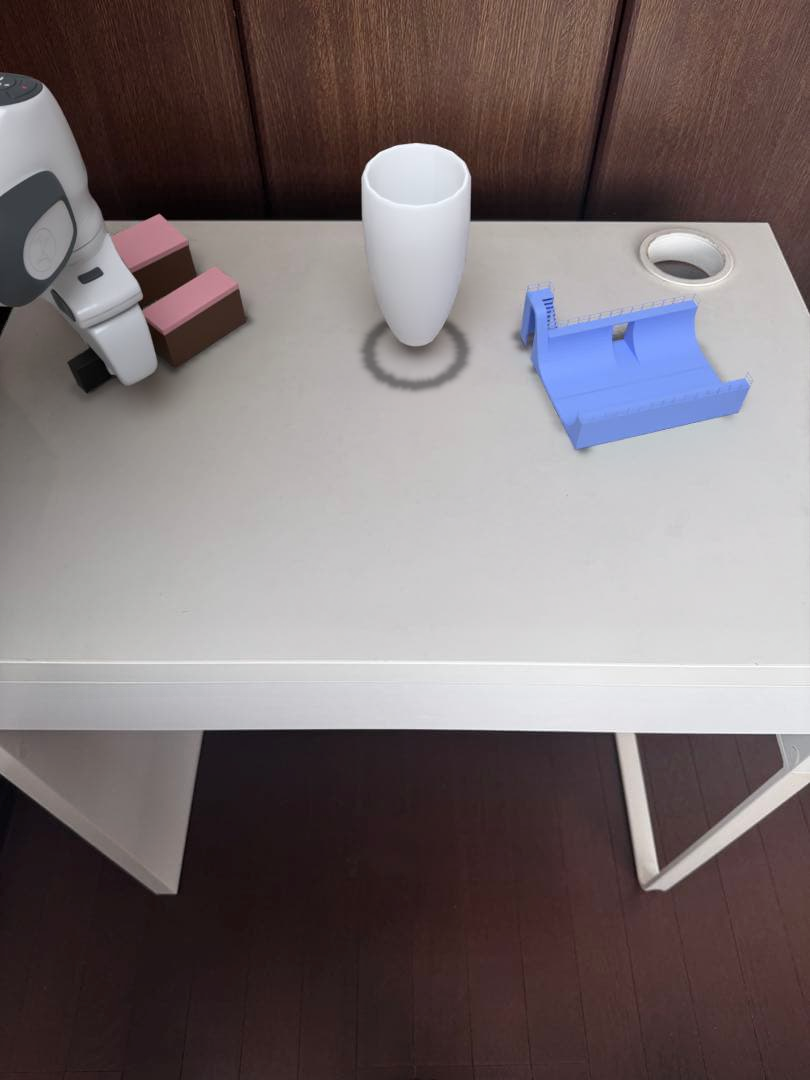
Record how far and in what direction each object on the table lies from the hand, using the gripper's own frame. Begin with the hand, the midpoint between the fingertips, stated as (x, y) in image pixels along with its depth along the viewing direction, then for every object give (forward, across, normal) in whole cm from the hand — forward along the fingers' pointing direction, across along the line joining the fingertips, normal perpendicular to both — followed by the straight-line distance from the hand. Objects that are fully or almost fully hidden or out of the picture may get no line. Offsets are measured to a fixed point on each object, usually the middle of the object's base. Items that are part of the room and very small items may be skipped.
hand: (107, 359), depth 92 cm
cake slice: (+2, +1, +10) cm, 10 cm away
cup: (+2, +18, +27) cm, 33 cm away
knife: (+2, -1, +6) cm, 6 cm away
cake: (+2, -10, +10) cm, 14 cm away
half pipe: (+2, +36, +42) cm, 55 cm away
